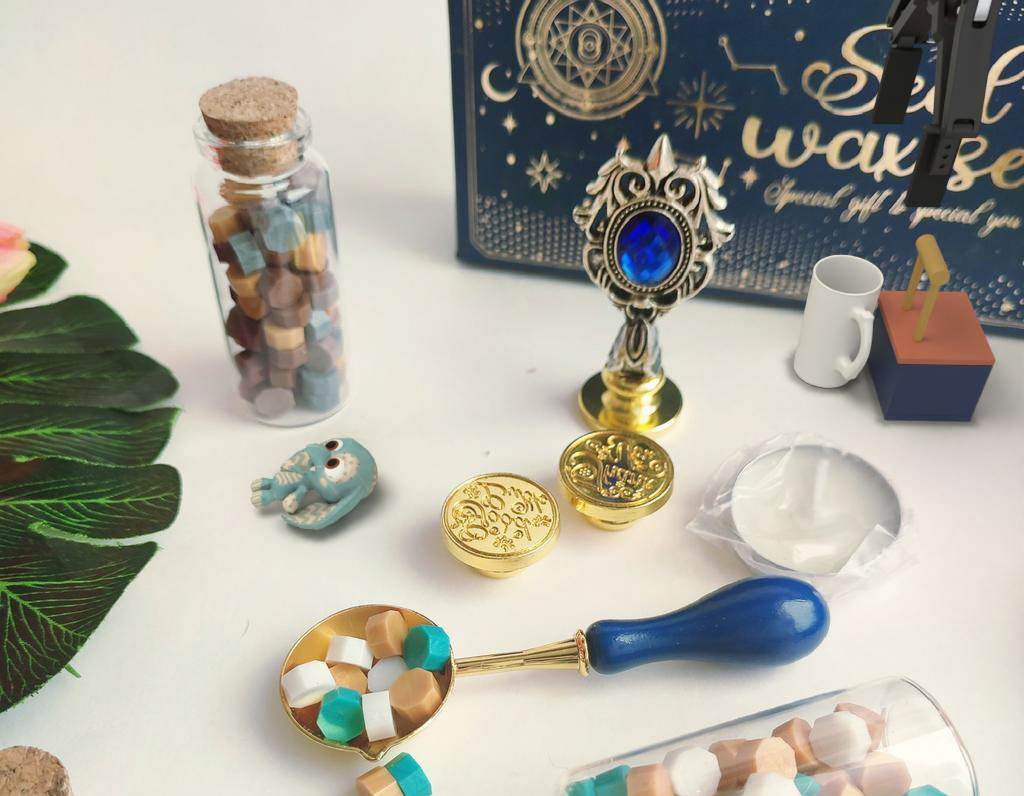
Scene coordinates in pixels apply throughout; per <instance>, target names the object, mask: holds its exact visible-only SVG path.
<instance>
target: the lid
mask: <svg viewBox="0 0 1024 796" xmlns="http://www.w3.org/2000/svg"><path fill="white" fill-rule="evenodd" d="M915 247H916V250H917V252H918V253H917V258H916V261H915V264H914V267H913V270H912V273H911V276H910V280H909V283H908V286H907V288H906V290H881V291H880V294H879V298H878V301H877V306H878V305H879V308H880V311H881V314H882V317H883V320H884V323H885V326H886V329H887V332H888V335H889V338H890V341H891V344H892V347H893V350H894V353H895V356H896V359H897V362H898V364H940V365H993V366H994V365H995V362H996V358H995V355H994V353H993V351H992V348H991V345H990V344H989V341H988V339H987V336H986V334H985V331H984V330H983V328H982V325H981V323H980V321H979V319H978V316H977V313H976V311H975V309H974V307H973V304H972V302H971V299H970V297H969V295H968V293H967V291H940V289H941V287H942V286H944V285H946V284H948V282H949V281H950V280H951V279H950V278H951V272H950V271H949V269H948V266H947V263H946V261H945V258H944V257H943V254H942V252H941V250H940V247H939V245H938V242H937V240H936V238H935V236H934V235H932V234H929V233H927V234H923V235H920V236H919V237H918V238H917V240H916V241H915ZM924 270H925V273H926V275H927V278H928V280H929V283H930V285H929V288H928V291H927V290H924V291H923V290H918V287H919V284H920V281H921V278H922V275H923V271H924Z"/></svg>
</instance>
